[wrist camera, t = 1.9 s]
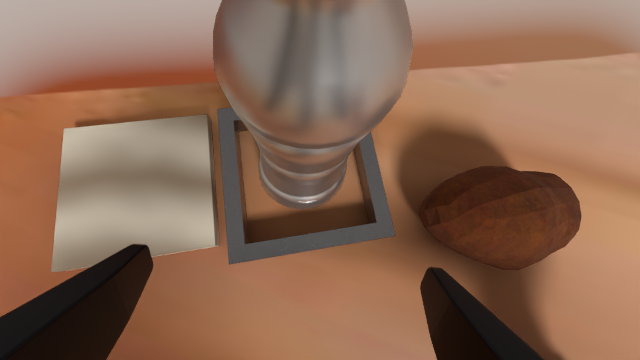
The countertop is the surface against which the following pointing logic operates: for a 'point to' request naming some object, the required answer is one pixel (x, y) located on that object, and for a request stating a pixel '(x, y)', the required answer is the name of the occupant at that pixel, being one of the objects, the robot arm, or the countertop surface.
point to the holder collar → (254, 251)
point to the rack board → (135, 190)
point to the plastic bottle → (310, 83)
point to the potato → (503, 215)
